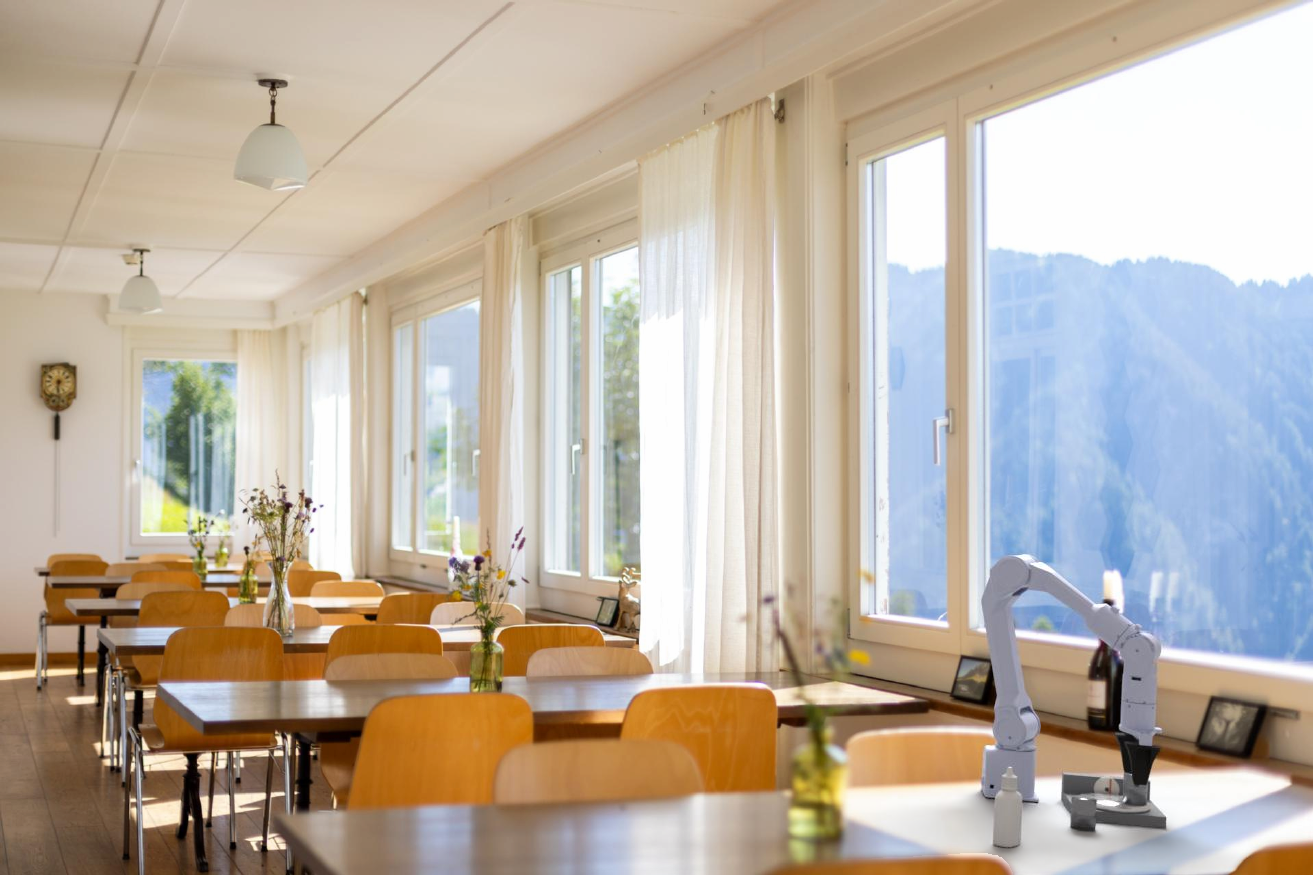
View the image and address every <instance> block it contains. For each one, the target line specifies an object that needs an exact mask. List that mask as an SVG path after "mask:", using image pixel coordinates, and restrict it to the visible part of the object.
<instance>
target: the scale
mask: <svg viewBox="0 0 1313 875" xmlns="http://www.w3.org/2000/svg"><path fill="white" fill-rule="evenodd" d="M1061 774H1062V775H1061V798H1060V799H1061V801H1062V803H1063V805H1064V806H1065V807H1066V810H1067V811H1068V812H1069V814H1070V815H1071V799H1072V796H1075V795H1081V794H1085V793H1108V794H1117V795H1123V778H1124V776H1114V775H1104V774H1103V775H1102V774H1090V773H1080V772H1068V771H1067V772H1066V771H1062V773H1061ZM1147 803H1149V804H1150V811H1148V812H1145V813H1135V814H1131V813H1116V812H1109V811H1103V810H1098V809H1096V823H1106V824H1118V825H1119V824H1120V825H1131V826H1140V827H1141V826H1142V827H1152V828H1160V829H1161V828H1163V829H1167V816H1166V815H1165V814H1164V812H1162V811H1161V809H1160V808H1158V806H1156V805H1155V803H1154V802H1152V800H1151V780H1149V779H1148V789H1147Z"/></svg>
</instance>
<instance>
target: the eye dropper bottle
mask: <svg viewBox="0 0 1313 875" xmlns="http://www.w3.org/2000/svg"><path fill="white" fill-rule="evenodd" d="M1017 780H1018V777H1017V776H1015V775H1014V774H1013V769H1012V767H1008V768H1007V772H1006V774H1004V775H1002V781H1001V788H1002V789H1001V790H1000V791H999V792H998V793H997V795H996V797H995V798H994V809H993V810H994V811H993V829H992V830H993V833H992V844H993V845H994V846H995V847H996V846H997V847H1000V848H1001V847H1002V848H1006V849H1007V848H1008V847H1009V848H1013V846H1014V847H1018V846H1019V845H1020V844H1021V842H1022V841H1021V840H1022V820H1023V819H1022V818H1023V817H1022V816H1023V800H1022V795H1021V794H1020V793H1019V792H1018V791H1016V790H1017ZM1009 848H1008V849H1009Z"/></svg>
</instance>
